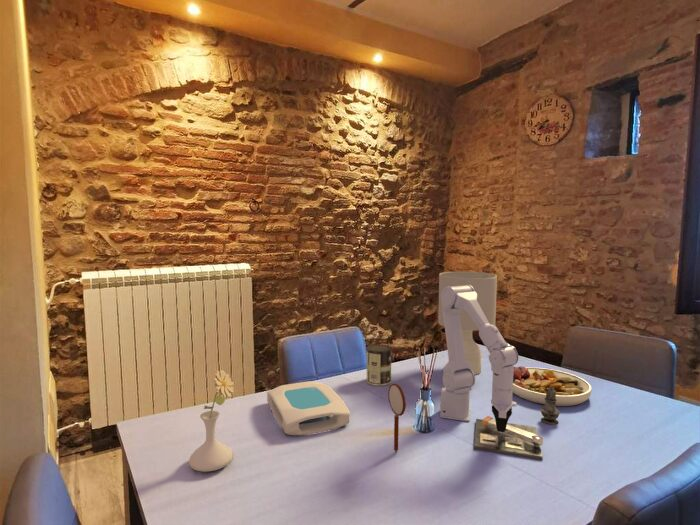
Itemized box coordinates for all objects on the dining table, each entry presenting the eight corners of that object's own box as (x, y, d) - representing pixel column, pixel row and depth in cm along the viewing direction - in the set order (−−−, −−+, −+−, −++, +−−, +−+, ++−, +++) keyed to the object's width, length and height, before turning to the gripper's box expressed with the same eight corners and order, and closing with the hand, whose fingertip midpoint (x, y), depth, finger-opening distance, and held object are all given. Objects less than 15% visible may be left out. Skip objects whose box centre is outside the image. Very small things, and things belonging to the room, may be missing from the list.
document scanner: (286, 440, 129) (286, 420, 128) (266, 403, 154) (266, 387, 154) (351, 427, 137) (351, 408, 136) (322, 394, 163) (322, 378, 162)
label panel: (474, 449, 123) (474, 442, 123) (476, 421, 140) (476, 416, 140) (542, 460, 118) (542, 453, 118) (535, 429, 135) (535, 424, 135)
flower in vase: (208, 481, 108) (205, 385, 105) (179, 467, 114) (176, 376, 111) (246, 457, 119) (244, 369, 116) (218, 446, 125) (216, 362, 122)
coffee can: (390, 376, 181) (390, 344, 180) (392, 386, 171) (392, 351, 169) (365, 376, 181) (366, 344, 180) (366, 386, 171) (366, 351, 170)
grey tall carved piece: (561, 426, 137) (563, 389, 136) (542, 424, 139) (543, 388, 137) (556, 418, 143) (558, 383, 142) (538, 416, 144) (539, 381, 143)
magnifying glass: (386, 446, 125) (386, 379, 123) (391, 445, 125) (392, 378, 124) (401, 461, 117) (401, 390, 115) (406, 460, 117) (407, 389, 116)
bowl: (593, 388, 170) (594, 369, 169) (587, 417, 144) (589, 394, 144) (513, 374, 186) (514, 356, 185) (496, 397, 160) (497, 377, 160)
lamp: (484, 384, 173) (488, 280, 169) (428, 372, 186) (430, 275, 182) (499, 367, 193) (503, 273, 189) (448, 358, 206) (450, 270, 202)
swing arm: (482, 425, 133) (482, 419, 133) (488, 422, 136) (488, 416, 136) (539, 447, 120) (539, 441, 120) (544, 443, 123) (545, 436, 123)
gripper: (518, 398, 119) (516, 445, 120) (515, 380, 132) (513, 422, 134) (491, 394, 121) (490, 441, 122) (491, 377, 134) (490, 419, 136)
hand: (500, 431), depth 128 cm, fingers closed
